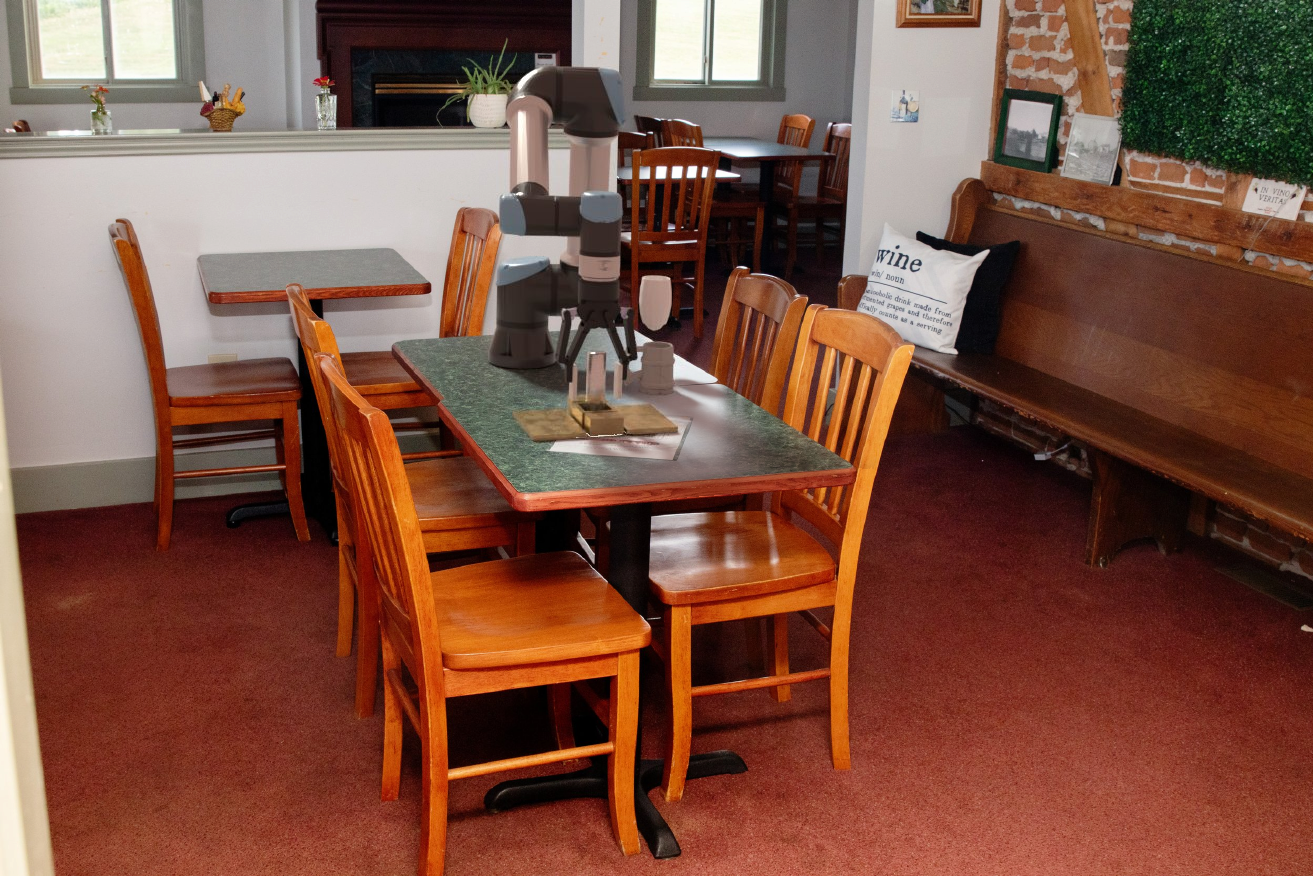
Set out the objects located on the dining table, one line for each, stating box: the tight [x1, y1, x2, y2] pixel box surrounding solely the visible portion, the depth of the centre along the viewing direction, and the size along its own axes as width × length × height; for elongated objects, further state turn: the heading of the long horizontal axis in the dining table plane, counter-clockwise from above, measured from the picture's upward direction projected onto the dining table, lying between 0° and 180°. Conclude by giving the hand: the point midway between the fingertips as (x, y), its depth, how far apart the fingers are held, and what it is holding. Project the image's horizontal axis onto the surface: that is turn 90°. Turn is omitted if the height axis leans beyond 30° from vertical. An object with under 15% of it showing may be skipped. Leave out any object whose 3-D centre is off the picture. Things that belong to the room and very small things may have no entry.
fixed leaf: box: [512, 400, 624, 442], centre depth 232 cm, size 16×17×4 cm
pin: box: [585, 349, 607, 411], centre depth 232 cm, size 4×4×14 cm
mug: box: [623, 341, 676, 396], centre depth 258 cm, size 8×12×12 cm, turn 103°
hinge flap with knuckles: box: [566, 394, 679, 435], centre depth 236 cm, size 16×17×4 cm
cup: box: [638, 275, 672, 331], centre depth 275 cm, size 7×7×21 cm
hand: (595, 397), depth 233 cm, fingers open, 8 cm apart
